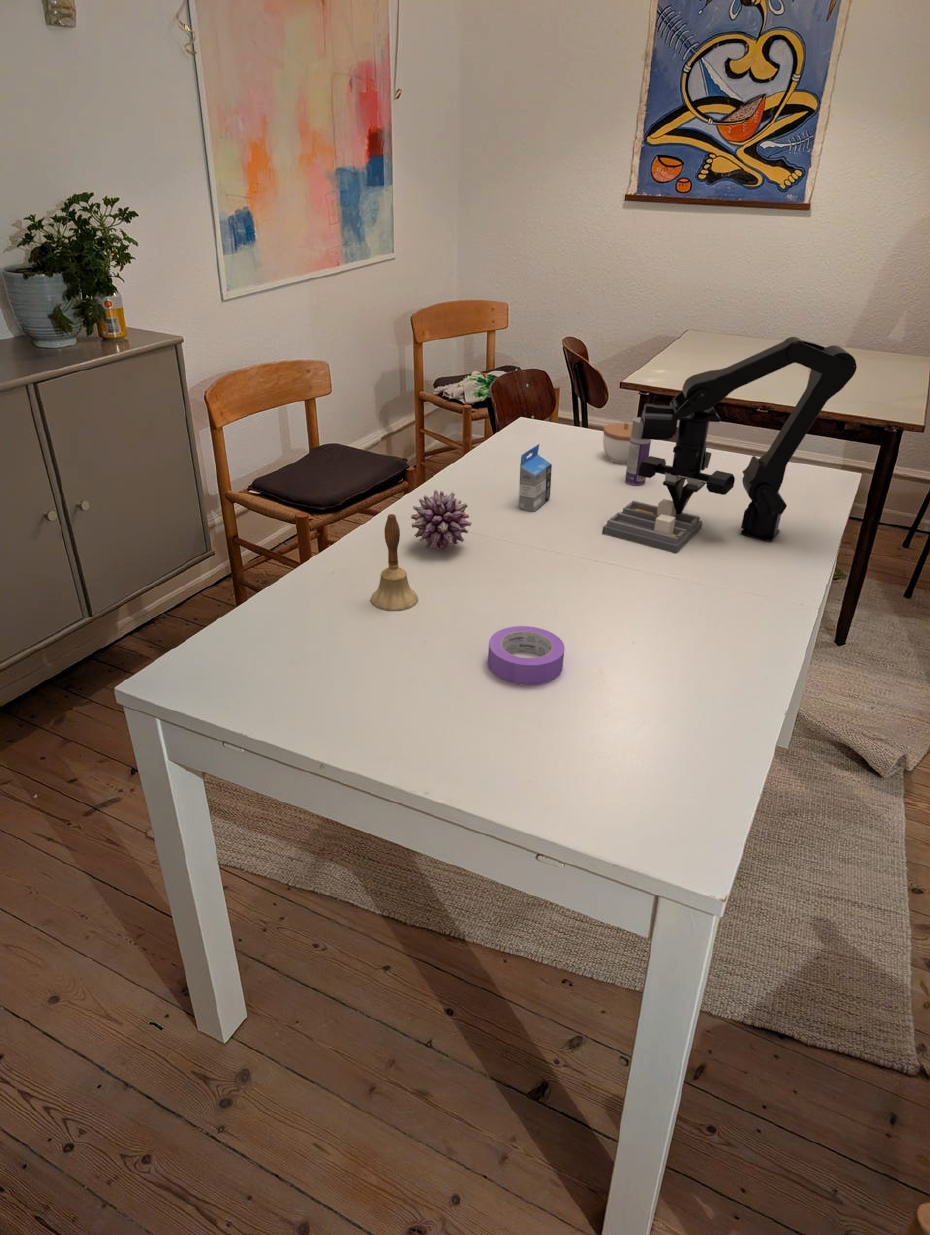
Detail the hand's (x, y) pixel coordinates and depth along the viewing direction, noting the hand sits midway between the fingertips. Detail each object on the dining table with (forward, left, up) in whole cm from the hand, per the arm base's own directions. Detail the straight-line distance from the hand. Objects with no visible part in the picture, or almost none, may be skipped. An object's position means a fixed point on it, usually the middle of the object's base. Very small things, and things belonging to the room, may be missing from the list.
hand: (679, 513), depth 181 cm
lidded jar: (+27, -33, -4) cm, 43 cm away
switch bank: (+4, +4, -3) cm, 6 cm away
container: (+18, -20, -4) cm, 27 cm away
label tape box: (+31, +6, -4) cm, 32 cm away
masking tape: (+1, +64, -4) cm, 64 cm away
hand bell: (+30, +59, -4) cm, 66 cm away
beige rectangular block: (+3, 0, -2) cm, 3 cm away
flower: (+35, +37, -4) cm, 51 cm away
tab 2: (0, +8, -2) cm, 8 cm away
